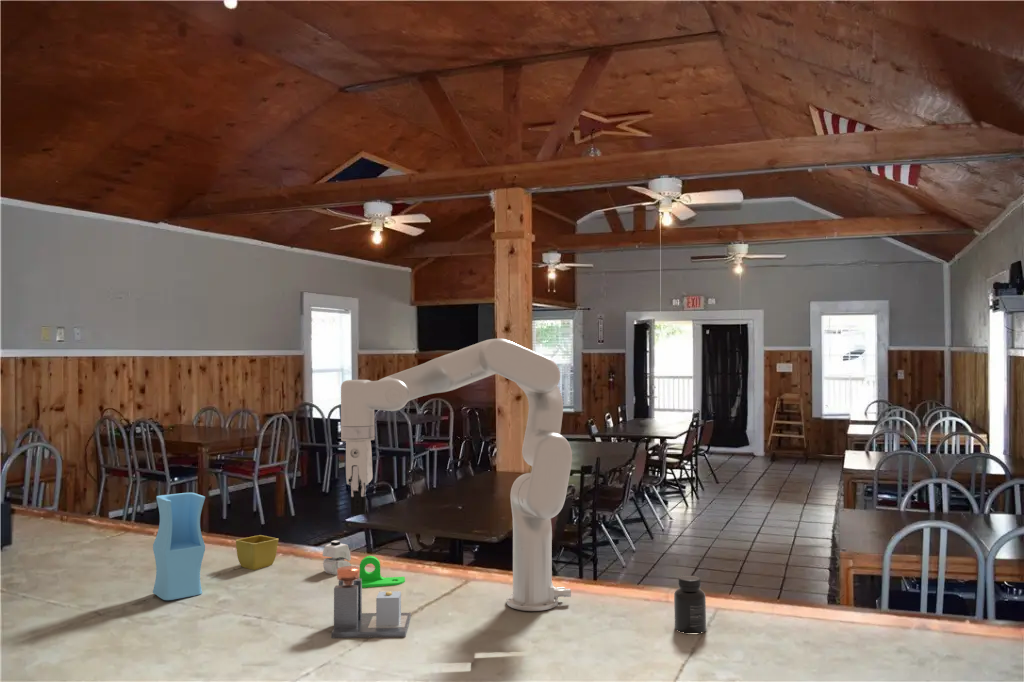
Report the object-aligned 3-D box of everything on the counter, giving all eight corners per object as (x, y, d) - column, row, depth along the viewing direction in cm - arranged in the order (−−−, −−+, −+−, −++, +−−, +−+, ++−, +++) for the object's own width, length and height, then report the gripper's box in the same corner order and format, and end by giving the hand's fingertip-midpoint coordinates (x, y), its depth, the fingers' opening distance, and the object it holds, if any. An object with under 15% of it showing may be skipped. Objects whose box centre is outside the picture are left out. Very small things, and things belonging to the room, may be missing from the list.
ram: (360, 618, 180) (361, 565, 181) (357, 626, 175) (357, 571, 176) (338, 619, 180) (339, 566, 180) (334, 626, 175) (335, 571, 175)
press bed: (410, 617, 185) (410, 574, 185) (405, 636, 172) (405, 590, 172) (341, 618, 184) (342, 575, 184) (331, 638, 171) (331, 591, 171)
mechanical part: (359, 592, 206) (359, 561, 206) (359, 586, 212) (359, 556, 212) (405, 590, 208) (405, 559, 208) (404, 584, 214) (404, 554, 214)
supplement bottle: (707, 629, 177) (707, 575, 177) (704, 639, 170) (704, 583, 171) (676, 626, 179) (676, 572, 179) (672, 635, 173) (672, 580, 173)
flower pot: (260, 565, 233) (260, 534, 233) (279, 569, 228) (279, 538, 228) (234, 571, 226) (234, 539, 226) (253, 576, 221) (253, 543, 221)
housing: (400, 617, 181) (401, 589, 181) (398, 624, 176) (398, 595, 176) (378, 618, 180) (379, 589, 181) (376, 625, 175) (376, 595, 176)
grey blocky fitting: (351, 575, 221) (352, 540, 222) (334, 581, 216) (335, 544, 216) (336, 572, 224) (336, 537, 225) (319, 578, 219) (319, 542, 219)
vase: (164, 601, 198) (166, 500, 198) (152, 592, 205) (153, 496, 206) (204, 593, 204) (205, 496, 205) (191, 585, 211) (192, 492, 212)
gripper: (370, 436, 173) (371, 520, 173) (378, 430, 188) (378, 507, 188) (335, 437, 173) (336, 521, 173) (346, 431, 188) (347, 508, 187)
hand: (358, 513), depth 180 cm, fingers closed
